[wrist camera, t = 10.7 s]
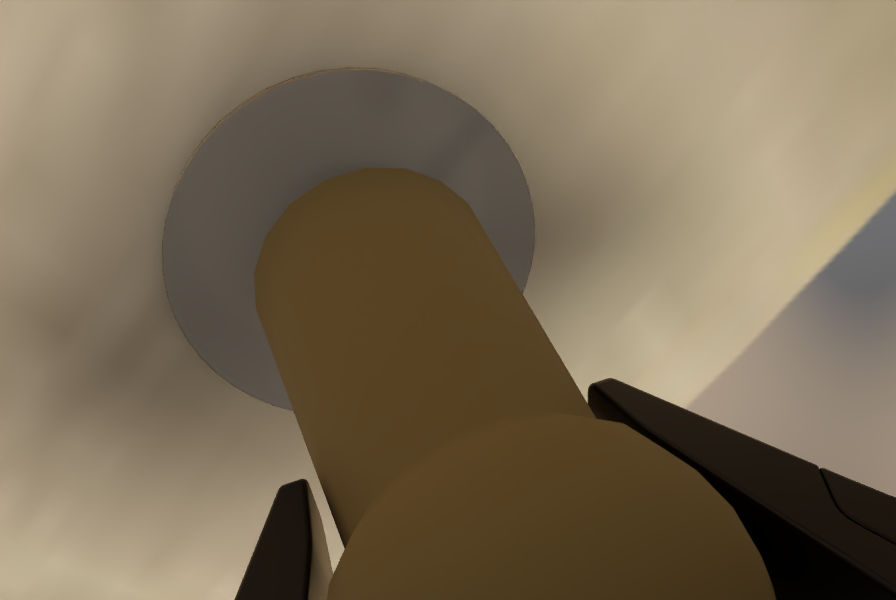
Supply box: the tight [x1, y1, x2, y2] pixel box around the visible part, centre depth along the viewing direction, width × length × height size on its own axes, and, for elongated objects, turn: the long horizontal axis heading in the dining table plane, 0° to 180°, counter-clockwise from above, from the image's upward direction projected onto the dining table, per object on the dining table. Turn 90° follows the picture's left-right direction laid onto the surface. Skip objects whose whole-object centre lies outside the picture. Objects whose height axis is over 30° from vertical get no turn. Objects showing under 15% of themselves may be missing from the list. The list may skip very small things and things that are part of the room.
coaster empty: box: [162, 68, 535, 411], centre depth 16 cm, size 10×10×1 cm
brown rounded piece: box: [254, 168, 776, 600], centre depth 10 cm, size 6×6×11 cm
